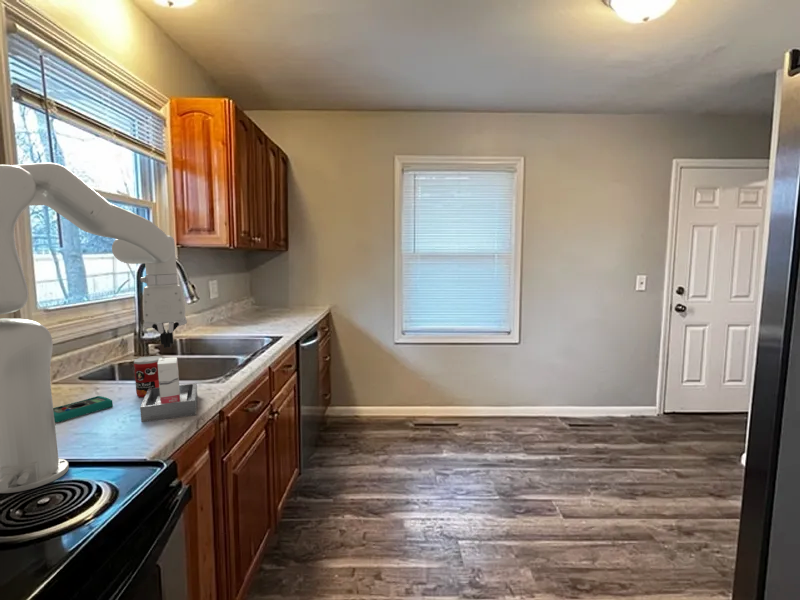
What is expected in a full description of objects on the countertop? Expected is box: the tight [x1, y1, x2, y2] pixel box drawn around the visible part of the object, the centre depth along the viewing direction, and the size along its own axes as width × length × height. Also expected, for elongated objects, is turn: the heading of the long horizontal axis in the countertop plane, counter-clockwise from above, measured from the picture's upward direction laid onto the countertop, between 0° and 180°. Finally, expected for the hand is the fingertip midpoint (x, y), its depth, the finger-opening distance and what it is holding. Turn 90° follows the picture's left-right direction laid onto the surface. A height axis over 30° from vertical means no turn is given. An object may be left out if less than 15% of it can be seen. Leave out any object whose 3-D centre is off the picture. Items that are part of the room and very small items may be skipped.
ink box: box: [157, 356, 180, 404], centre depth 132 cm, size 9×5×12 cm, turn 24°
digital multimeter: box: [53, 395, 114, 423], centre depth 131 cm, size 7×15×3 cm, turn 149°
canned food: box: [133, 355, 163, 398], centre depth 146 cm, size 8×8×11 cm
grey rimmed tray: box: [139, 382, 198, 423], centre depth 133 cm, size 18×13×4 cm
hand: (167, 346), depth 131 cm, fingers closed
